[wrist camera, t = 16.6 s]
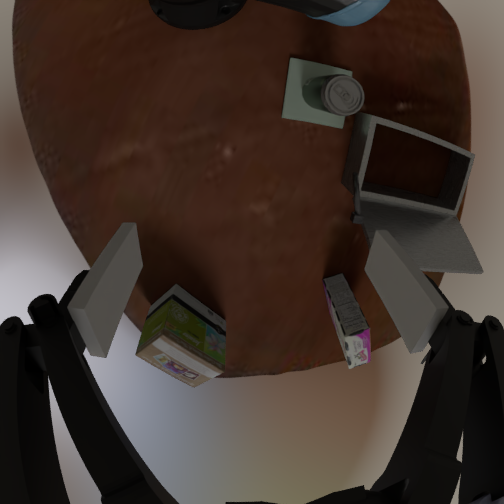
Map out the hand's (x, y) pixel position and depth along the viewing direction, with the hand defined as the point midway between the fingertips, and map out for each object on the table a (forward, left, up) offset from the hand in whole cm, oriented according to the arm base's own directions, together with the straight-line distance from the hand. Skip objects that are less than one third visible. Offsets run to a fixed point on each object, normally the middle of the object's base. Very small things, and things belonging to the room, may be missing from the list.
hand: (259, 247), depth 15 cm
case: (+1, +29, -32) cm, 43 cm away
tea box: (+38, -9, -32) cm, 50 cm away
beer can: (-9, +10, -32) cm, 34 cm away
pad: (-9, +10, -32) cm, 35 cm away
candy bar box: (+30, +23, -32) cm, 49 cm away
